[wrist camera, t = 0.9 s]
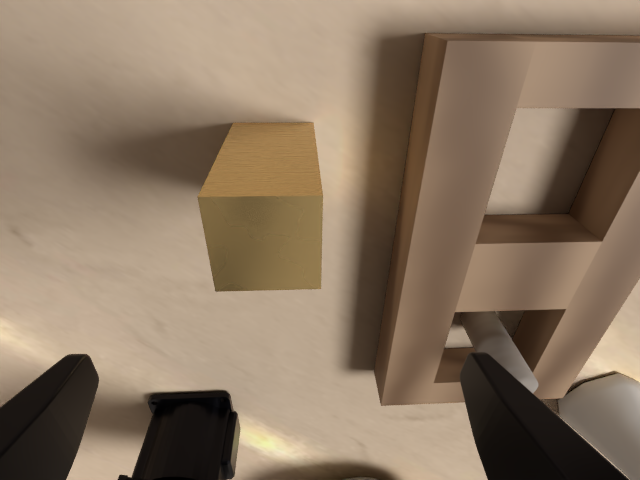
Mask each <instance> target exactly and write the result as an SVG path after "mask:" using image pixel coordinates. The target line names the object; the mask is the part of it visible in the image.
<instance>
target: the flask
mask: <svg viewBox="0 0 640 480" xmlns="http://www.w3.org/2000/svg"><path fill="white" fill-rule="evenodd" d="M558 407H559V415H560V417H561V418H562V419H563V420H564V421H566V422H567V423H568V424H569V425H570V426H571V427H572V428H573V429H575V430H576V431H577V432H578V433H579V434H580V435H582V436H583V437H584V438H585V439H586V440H587V441H589V442H590V443H591V444H592V445H593V446H594V447H596V448H597V449H598V450H599V451H600V452H601V453H602V454H603V455H604V456H605V457H607V458H608V459H609V460H610V461H611V462H612V463H613V464H614V465H615V466H616V467H618V468H619V469H620V470H621V471H622V472H623V473H624V474H625V475H626V476H627V477H628V478H629V479H630V480H640V383H639V382H638V381H636V380H633V379H631V378H629V377H627V376H624V375H622V374H620V373H618V374H614V375H610V376H607V377H603V378H600V379H596V380H592V381H589V382H585V383H583V384H581V385H580V386H578V387H577V388H575V389H574V390H572V391H571V392H570V393H568V394H567V395H565V396H564V397H563V398H561V399H559V400H558Z"/></svg>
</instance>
